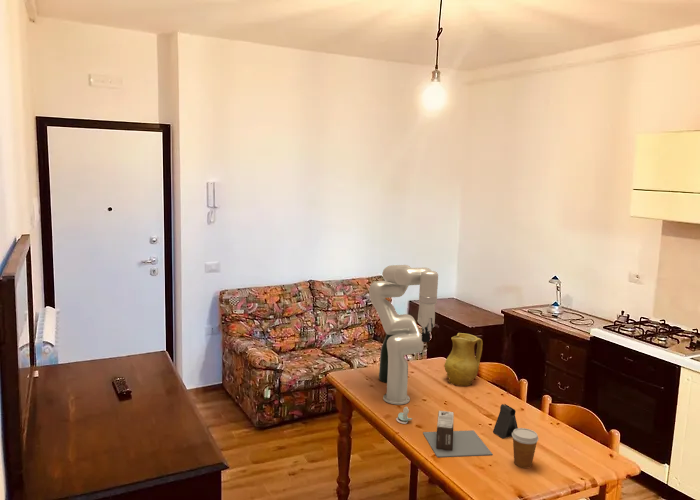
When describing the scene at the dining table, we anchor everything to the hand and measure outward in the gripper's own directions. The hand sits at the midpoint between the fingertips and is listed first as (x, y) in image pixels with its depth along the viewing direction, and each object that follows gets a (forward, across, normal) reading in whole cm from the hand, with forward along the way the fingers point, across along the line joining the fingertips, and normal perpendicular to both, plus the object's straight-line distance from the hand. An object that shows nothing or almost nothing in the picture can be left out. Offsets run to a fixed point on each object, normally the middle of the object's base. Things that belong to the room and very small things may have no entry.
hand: (425, 341), depth 238 cm
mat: (+35, +23, +8) cm, 43 cm away
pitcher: (+35, -43, +34) cm, 65 cm away
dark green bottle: (+35, -48, -4) cm, 60 cm away
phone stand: (+35, +16, +32) cm, 50 cm away
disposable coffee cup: (+35, +40, +28) cm, 60 cm away
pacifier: (+36, +1, -8) cm, 36 cm away
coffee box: (+30, +13, +6) cm, 33 cm away
